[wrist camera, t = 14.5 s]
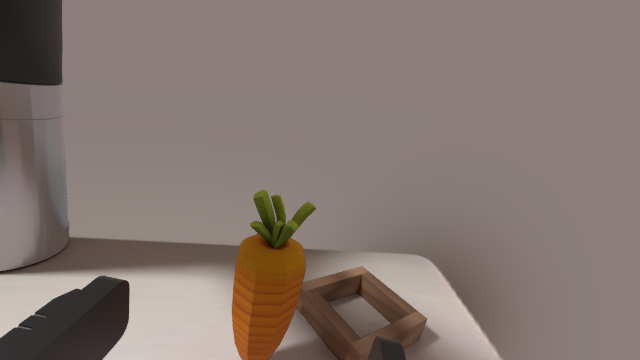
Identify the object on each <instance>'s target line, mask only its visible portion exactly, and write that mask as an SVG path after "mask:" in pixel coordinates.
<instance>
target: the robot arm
mask: <svg viewBox="0 0 640 360" xmlns="http://www.w3.org/2000/svg"><path fill="white" fill-rule="evenodd" d="M68 241H69V220H68V200H67V177H66V155H65V131H64V107H63V84H62V0H0V271H5V270H11V269H15V268H20V267H24V266H28V265H31V264H34V263H37V262H40V261H42V260H45V259H47V258H49V257H51V256H53V255H55V254H57V253H58V252H60V251H61V250H62V249H64V248H65V246H66V245H67V244H68ZM128 320H129V283H128V281H126V280H121V279H117V278H112V277H107V276H99V277H97V278H96V279H95V280H93V281H92V282H91V283H90V284H88V285H87V286H86V287H84V288H83V289H82V290H80V289H75V290H72V291H70V292H68V293H66V294H63V295H61V296H59V297H57V298H55V299H53V300H52V301H50V302H49V303H47V304H46V305H45V306H43V307H42V308H41V309H39V310H38V311H37V312H35V314H34V315H33V316H32V315H31V316H30V317H28V318H27V319H26V320H24V321H23V322H22V323H20V324H19V326H18V327H17V328H13V329H12V330H11V331H9V332H8V333H7V334H5V335H4V336H3V337H1V338H0V360H102V359H103V358H104V357H105V356H106V355H107V354H108V352H109V351H110V350H111V349H112V348H113V347H114V346H115V344H116V343H117V342H118V341H119V340H120V338H121V337H122V335H123V334H124V332H125V330H126V327H127V324H128ZM367 360H406V358H405V354H404V350H403V346H402V344H401V342H400V341H397V340H392V339H388V338H383V337H379V336H376V337H375V339H374V341H373V344H372V347H371V350H370V353H369V356H368V359H367Z"/></svg>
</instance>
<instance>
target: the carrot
mask: <svg viewBox="0 0 640 360" xmlns="http://www.w3.org/2000/svg"><path fill="white" fill-rule="evenodd" d="M271 198H272V202H273V205H274V208H275V212H276V217H277V222H276V223H275V217H274V212H273V208H272V205H271V201H270V198H269V195H268V193H267V191H264V190H261V191H259V192H257V193H256V194H255V195H254V198H253V199H254V202H255V205H256V207H257V210H258V212H259V214H260V217H261V220H262V222H263V224H262V223H261V222H258V221H254V222H252V223H251V225H250V226H251V227H252V228H253V229H254V230H255V231H256V232H257V233H258V234H256V235H254V236H251V237H248V238H246V239H245V240H243V241H242V243H241V244H240V248H239V252H238V257H237V262H236V268H235V278H234V288H233V302H232V321H233V332H234V339H235V344H236V347H237V350H238V352H239V355H240V357H241V358H242V360H267V359H268V358H269V357H270V356H271V355H272V354H273V353H274V351H275V350H276V349H277V348H278V346H279V345H280V343H281V341H282V339H283V337H284V335H285V333H286V331H287V329H288V327H289V324H290V322H291V320H292V317H293V315H294V312H295V308H296V305H297V301H298V298H299V294H300V290H301V286H302V282H303V278H304V274H305V267H306V265H305V258H304V252H303V247H302V246H301V244H300V243H298V242H297V241H295V240H293V239H291V238H290V237H291V236H292V235H293V233H294V232H295V231H296V230H297V229H298V227H299V226H300V225H301V224H302V223H303V222H304V220H305V219H306V218H307V217H308V216H309V215H310V214H311V213H312V212H313V211H314V210H315V209H316V208H315V206H314V205H313V204H311V203H310V202H307V203H305V204H304V205H303V206H302V207H301V208H300V209H299V210H298V211H297V212H296V214H295V215H294V217H293V218H292V220H291V221H288V222H287V224H286V225H285V222H286V221H285V220H286V219H285V218H286V215H285V210H284V205H283V202H282V199H281V196H280V195H274V196H271Z"/></svg>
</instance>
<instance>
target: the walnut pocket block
mask: <svg viewBox="0 0 640 360" xmlns="http://www.w3.org/2000/svg"><path fill="white" fill-rule="evenodd" d="M355 292H358V293H359V294H360V295H361V296H362V297H363V298H364V299H365V300H367V301H368V302H369V303H370V304H371V305H372V306H373V307H374V308H375V309H376V310H377V311H379V312H380V313H381V314H382V315H383V316H384V317H385V318H386V319H387V320H388V321H389V322H390V323H392V324H390V325H388V326H386V327H384V328H382V329H380V330H378V331H375V332H373V333H371V334H369V335H367V336H365V337H363V338H360V337H359V336H358V335H357V334H356V333H355V332H354V331H353V330H352V329H351V327H350V326H349V325H348V324H347V323H346V322H345V321H344V320H343V319H342V318H341V317H340V316H339V315H338V313H337V312H336V311H335V310H334V309H333V308H332V307H331V306H330V305H329V304H328V303H327V302H329V301H332V300H335V299H338V298H340V297H343V296H346V295H349V294H352V293H355ZM296 307H297V308H298V310H299V311H300V312H301V313H302V315H303V316H304V317H305V318H306V320H307V321H308V322H309V323H310V325H311V326H312V327H313V328H314V330H315V331H316V332H317V333H318V335H319V336H320V337H321V338H322V340H323V341H324V342H325V343H326V345H327V346H328V347H329V349H330V350H331V351H332V352H333V354H334V355H335V356H336V357H337V359H338V360H367V359H368V356H369V353H370V350H371V347H372V344H373V341H374V339H375V337H376V336H379V337H383V338H388V339H392V340H397V341H400V342H401V344H402V346H403V349H404V348H405V347H407V346H409V345H410V344H412V343H414V342H415V341H417V340H419V339H420V337H421V334H422V332H423V329H424V326H425V324H426V321H427V318H425V317H424V316H423V315H422V314H420V313H419V312H418V311H417V310H416V309H414V308H413V307H412V306H411V305H409V304H408V303H407V302H406V301H404V300H403V299H402V298H401V297H399V296H398V295H397V294H396V293H395V292H393V291H392V290H391V289H390V288H388V287H387V286H386V285H385V284H383V283H382V282H381V281H380V280H379V279H377V278H376V277H375V276H374V275H372V274H371V273H370V272H369V271H367V270H366V269H365V268H364V267H362V266H361V267H358V268H354V269H350V270H347V271H343V272H340V273H336V274H332V275H329V276H325V277H322V278H318V279H315V280H311V281H307V282H304V283H302V286H301V290H300V294H299V298H298V301H297V305H296Z"/></svg>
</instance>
